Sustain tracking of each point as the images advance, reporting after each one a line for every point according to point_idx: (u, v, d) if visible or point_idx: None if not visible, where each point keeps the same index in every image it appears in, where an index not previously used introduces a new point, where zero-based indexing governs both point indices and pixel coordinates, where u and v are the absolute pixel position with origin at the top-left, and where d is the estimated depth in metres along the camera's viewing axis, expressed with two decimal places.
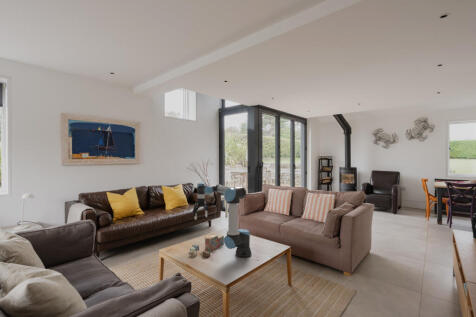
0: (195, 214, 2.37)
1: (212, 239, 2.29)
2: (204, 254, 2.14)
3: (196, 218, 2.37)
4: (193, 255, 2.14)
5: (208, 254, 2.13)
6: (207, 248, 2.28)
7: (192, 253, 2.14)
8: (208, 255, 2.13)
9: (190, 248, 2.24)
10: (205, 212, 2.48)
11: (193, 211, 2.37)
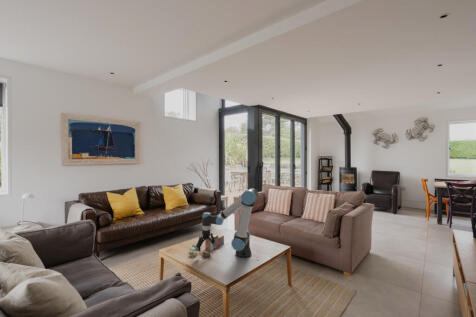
0: (199, 249, 2.09)
1: None
2: (204, 254, 2.14)
3: (200, 253, 2.09)
4: (193, 255, 2.14)
5: (208, 254, 2.13)
6: (207, 248, 2.28)
7: (192, 253, 2.14)
8: (208, 255, 2.13)
9: (190, 248, 2.24)
10: (210, 245, 2.20)
11: None
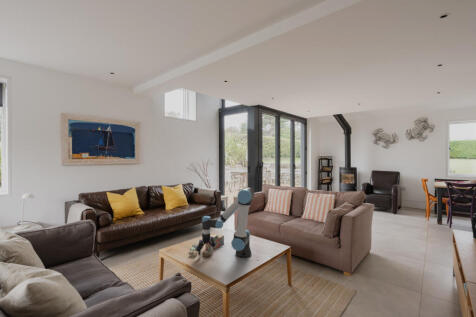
0: (199, 252, 2.09)
1: None
2: (204, 254, 2.14)
3: (200, 257, 2.09)
4: (193, 255, 2.14)
5: (208, 254, 2.13)
6: (207, 248, 2.28)
7: (192, 253, 2.14)
8: (208, 255, 2.13)
9: (190, 248, 2.24)
10: None
11: None
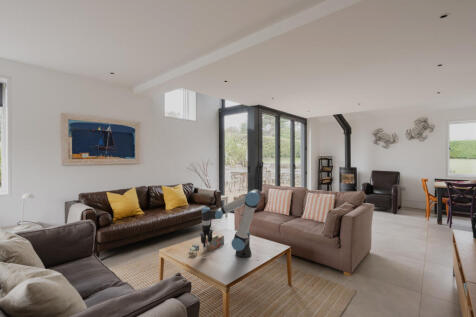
0: (204, 245, 2.12)
1: (213, 239, 2.30)
2: None
3: None
4: (193, 255, 2.14)
5: (208, 248, 2.13)
6: None
7: (192, 253, 2.14)
8: (209, 249, 2.13)
9: (190, 248, 2.24)
10: (207, 244, 2.16)
11: None
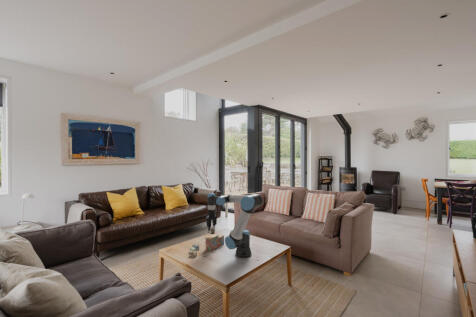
0: (210, 228, 2.25)
1: (213, 239, 2.30)
2: None
3: None
4: (193, 255, 2.14)
5: (213, 231, 2.26)
6: (208, 248, 2.28)
7: (192, 253, 2.14)
8: (213, 232, 2.26)
9: (190, 248, 2.24)
10: (212, 227, 2.30)
11: None
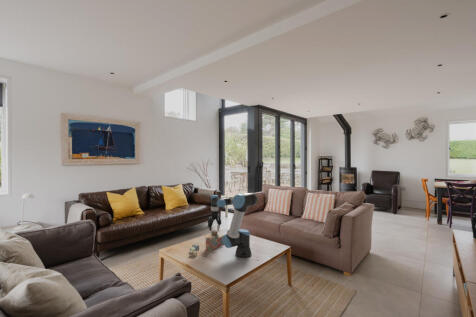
0: (210, 228, 2.31)
1: (213, 239, 2.30)
2: (212, 233, 2.35)
3: (211, 232, 2.32)
4: (193, 255, 2.14)
5: (216, 233, 2.34)
6: (208, 248, 2.29)
7: (192, 253, 2.14)
8: (216, 234, 2.34)
9: (190, 248, 2.24)
10: (217, 226, 2.40)
11: None
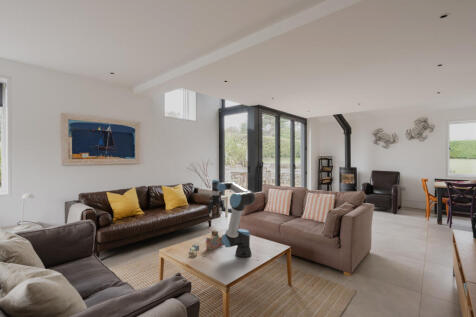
0: (210, 211, 2.34)
1: (213, 239, 2.30)
2: (213, 233, 2.35)
3: (211, 215, 2.34)
4: (193, 255, 2.14)
5: (216, 233, 2.34)
6: (208, 248, 2.29)
7: (192, 253, 2.14)
8: (216, 234, 2.34)
9: (190, 248, 2.24)
10: (219, 209, 2.45)
11: (208, 208, 2.34)
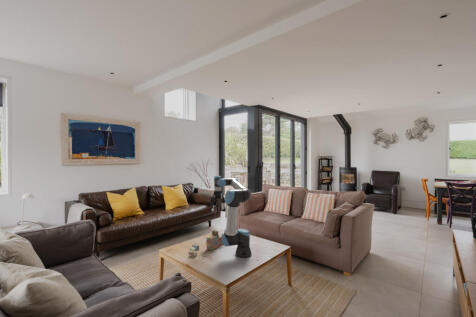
0: (212, 206, 2.42)
1: (214, 238, 2.31)
2: (213, 233, 2.36)
3: (213, 210, 2.42)
4: (193, 255, 2.14)
5: (217, 233, 2.35)
6: (209, 248, 2.29)
7: (192, 253, 2.14)
8: (217, 234, 2.35)
9: (190, 248, 2.24)
10: None
11: None
